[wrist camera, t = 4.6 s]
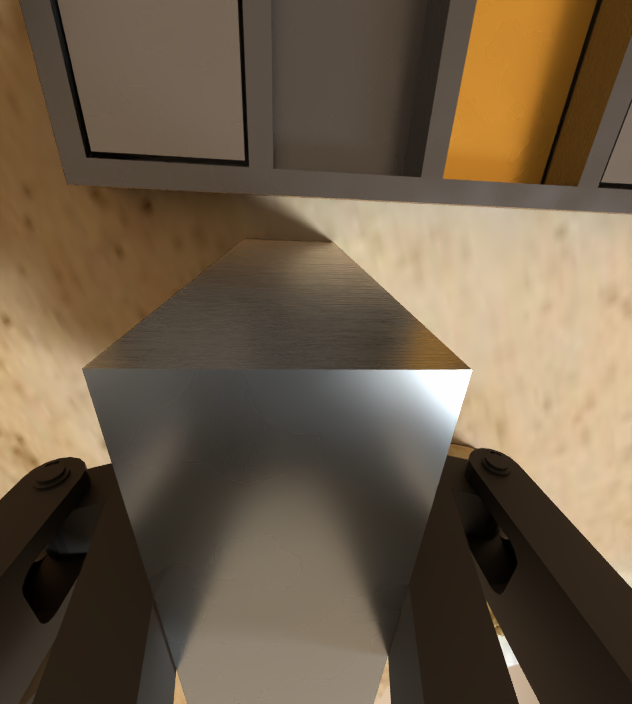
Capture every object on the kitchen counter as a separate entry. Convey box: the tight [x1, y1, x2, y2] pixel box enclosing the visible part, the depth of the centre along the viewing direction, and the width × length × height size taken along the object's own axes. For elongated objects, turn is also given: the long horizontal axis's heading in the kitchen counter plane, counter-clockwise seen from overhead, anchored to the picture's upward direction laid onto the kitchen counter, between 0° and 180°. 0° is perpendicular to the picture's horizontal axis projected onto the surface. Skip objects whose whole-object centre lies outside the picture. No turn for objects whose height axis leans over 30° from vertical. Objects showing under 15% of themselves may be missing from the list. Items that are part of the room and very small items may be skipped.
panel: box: [82, 239, 472, 704], centre depth 11 cm, size 4×10×12 cm, turn 177°
